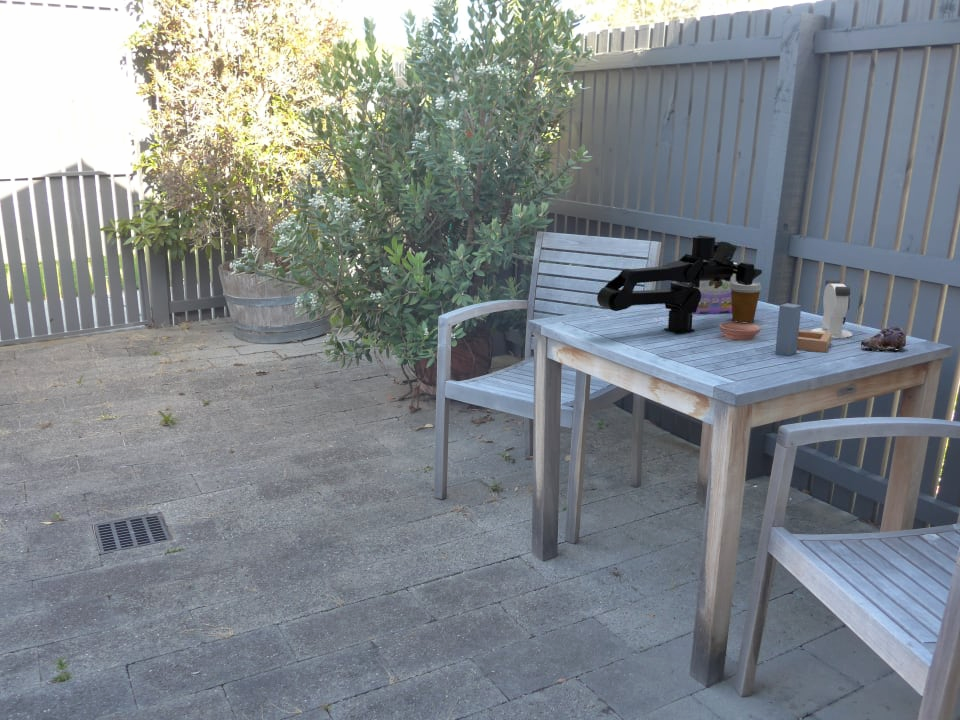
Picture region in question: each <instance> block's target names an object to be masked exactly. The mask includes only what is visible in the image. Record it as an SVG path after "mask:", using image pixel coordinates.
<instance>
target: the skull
mask: <svg viewBox="0 0 960 720" xmlns="http://www.w3.org/2000/svg"><path fill="white" fill-rule="evenodd" d="M906 339H907V334H906V331H905V329H904V328H902V327H900V326H895V327H892V326H891V327H890V326H889V327H884V328H883V329H881V330H880V331H879V332H877V333H876V334H875V335H873V336H871V337H868V338H864V339H862V340H861V342H860V346H861V348H862V347H863V348H866V347H867V348H866V350H867V349H868V350H869V349H871V351H874V350H882V351H887V350H893V349H900V350H901V349H902V348H904V347H905V346H906V344H907V340H906Z"/></svg>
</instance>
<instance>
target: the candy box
mask: <svg viewBox="0 0 960 720" xmlns="http://www.w3.org/2000/svg"><path fill="white" fill-rule="evenodd" d="M734 264H736V265H739V264H738V263H737V262H735V261H734ZM736 277H737V274H733V275H732V277H731V280H730V281H725V280H720V281H718V282H717V281H713V280H709V281H700V285H699V288H698V289H699V290H700V292H701V300H700V302H699V305H698V308H697V310H696V312H695V313H692V315H700V314H701V315H703V314H704V315H705V314H707V315H709V314H730V313H731V314H732V300H731V290H730V286H731V283H732V282H734V281H736ZM694 288H696V287H694Z"/></svg>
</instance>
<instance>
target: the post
mask: <svg viewBox="0 0 960 720" xmlns="http://www.w3.org/2000/svg"><path fill="white" fill-rule="evenodd" d="M778 308H779V309H778V310H779V311H778V321H777V329H776V330H777V331H776V342H775V351H774V353H776V354H781V355H785V356H791V355H794V354H797V351H798V349H797V343H798V333H799V330H800V322H801V321H800V320H801V313H802V312H801V311H802V305H800V304H794V303H788V302H787V303H784V304H779V307H778Z"/></svg>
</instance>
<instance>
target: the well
mask: <svg viewBox="0 0 960 720" xmlns="http://www.w3.org/2000/svg"><path fill="white" fill-rule="evenodd" d="M832 339H833V338H832V333H823V332H814V331H811V330H804V329H803V330H802V329H799V333H798V343H797V350H800V351H809V352H818V353H827V351H828V349H829V348H830V346H831V344H832Z"/></svg>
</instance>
